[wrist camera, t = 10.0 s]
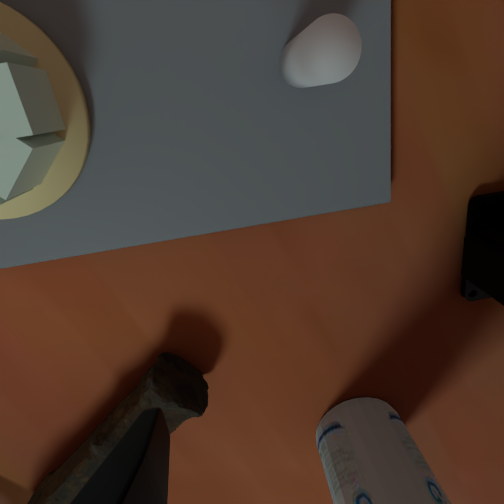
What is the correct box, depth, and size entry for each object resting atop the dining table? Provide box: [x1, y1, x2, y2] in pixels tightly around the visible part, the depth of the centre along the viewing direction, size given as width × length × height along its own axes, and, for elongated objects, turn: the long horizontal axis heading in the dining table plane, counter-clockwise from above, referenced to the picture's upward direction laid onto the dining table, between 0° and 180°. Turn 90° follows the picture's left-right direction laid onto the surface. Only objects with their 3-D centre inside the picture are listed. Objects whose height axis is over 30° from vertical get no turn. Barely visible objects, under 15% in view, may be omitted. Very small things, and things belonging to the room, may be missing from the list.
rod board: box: [0, 0, 391, 269], centre depth 14 cm, size 22×14×6 cm, turn 98°
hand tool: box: [28, 352, 208, 504], centre depth 23 cm, size 19×4×5 cm, turn 134°
